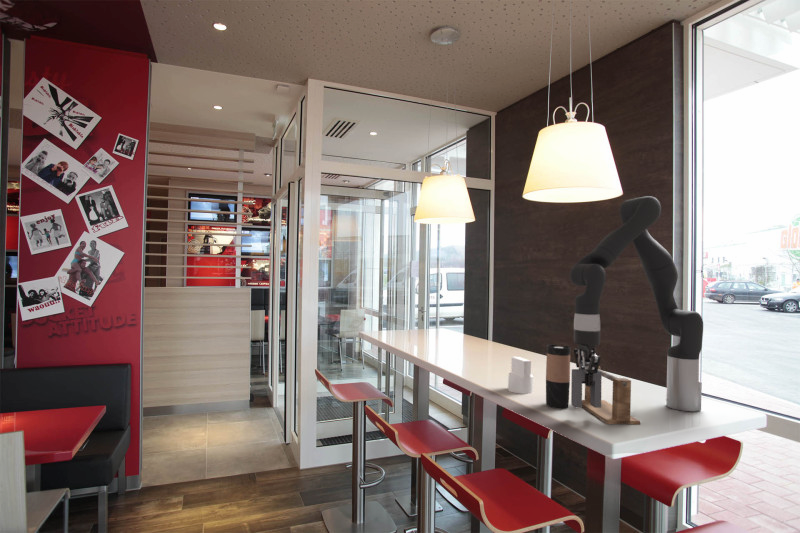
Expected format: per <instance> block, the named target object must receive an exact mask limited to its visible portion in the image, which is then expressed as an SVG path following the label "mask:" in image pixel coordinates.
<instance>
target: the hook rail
mask: <svg viewBox="0 0 800 533" xmlns="http://www.w3.org/2000/svg"><path fill="white" fill-rule="evenodd" d="M588 367H589V366H588ZM594 368H595V367H594ZM601 368H602V367H601V366H599V367H598V370H599V371H602V377H603V378H605V379H607V380H609V381H611V382H612V398H611V399H612V400H611V401H612V403H609V402H608V401H607V400H605V399H604V400H603V399H601V408H595V407H593V406H591V405H590V386H585V385H584V399H582V408H584V409H585V410H586V411H588V412H589V413H591V414H592V415H594V416H595V417H597V419H599V420H601V421H603V423H606V424H607V425H640V424H641V421H640V420H639V419H638V418H636V417H634V416H632V415H631V408H632V407H631V405H632V404H631V403H632V402H631V401H632V398H631V396H632V394H631V393H632V380H631V379H628V378H625V377H623V378H622V377H617V376H614V375H612V374H610V373H608V372H606V371H603V370H602V369H601Z"/></svg>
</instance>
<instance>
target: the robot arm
mask: <svg viewBox="0 0 800 533" xmlns="http://www.w3.org/2000/svg"><path fill="white" fill-rule="evenodd" d="M618 212H619V216H620V221H621V222H622V225H621V226H619V227H618V228H616V229H615V230H613V231H612V232H610V233H609V234H607V235H606V236H605V237H604V238H603V239H601V241H599V242H598V243H597V245H596V246H595V247H594V249H592V251H591V252H590V253H588V254H586V255H585V256H584V257H582V258H581V259H579V260H578V261H577V262H576V263H575V264H574V265H573V266H572V267H571V269H570V272H569V279H570V282H571V283H572V284H573V285H574V286H578V287H585V288H584V289H585V290H584V292H583V293H581V294H577V295H576V297H575V299H574V318H573V343H574V344H575V345H578V346H577V348H574V349H573V354H574V360H575V361H574V362H575V366H576V369H585V381H582V385H583V384H584V387H585V386H593V374H594V373H597V372H598V367H600V364H601V355H597V354H596V353H597V350H596V346H600V344H601V318H600V306H601V305H600V301H601V297H602V295H603V291H604V287H605V284H606V279H607V275H606V271H605V269H607V268H609V267H611V266H612V265H613V264H614V262H615V261H616V260H617V259H618V258H619V257H620V255H621V254H622V253H623V251H624V250H625V249H626V248H627V247H628V246H629V245H630V244H631V243H632V244H633V246H634V248H635V251H636V254H637V255H638V259H639V261H640V262H641V266H642V268H643V272H644V273H645V277H646V279H647V281H648V283H649V286H650V289H651V291H652V294H653V298H654V300H655V303H656V307H657V310H658V314H659V318H660V322H661V325H662V328H663V329H664V331H665V332H666V333H667V334H668V335H670V336H673V337H680V338H679V343H677V344H676V345H673V346H669V347H668V348H667V354H666V355H667V360H666V363H667V364H666V368H667V369H666V399H665V400H666V404H665V405H666V407H668V408H670V409H673V410H677V411H684V412H697V411H698V412H699V411H702V382H701V381H700V355H701V351H702V348H703V336H704V321H703V317H702V316H701V314H700V313H699V312H698V311H694V310H685V309H679V307H678V305H677V302H676V299H675V295H674V292H675V289H676V286H677V282H678V280H679V279H678V277H679V274H678V273H679V272H678V270H677V267H676V265H675V261H674V259H673V257H672V255H671V254H670V252H668V250H667V249H666V248H665V247H663V245H661V243H659V242H658V241H657V240H656V239H655V238H653V236H651V234H650V233H649V231H648V228H649V227H651V226H652V225H654V223H656V222H657V221H658V219H660V218H659V217H660V216H661V213H662V205H661V202H660V201H659V200H658V199H657V198H656V197H654V196H652V195H651V196H650V195H649V196H647V195H646V196H641V197H640V196H639V197H635V198H631V199H627V200H624V201H622V202H621V204H620V206H619V211H618ZM588 366H589V367H588ZM594 367H595V368H594Z"/></svg>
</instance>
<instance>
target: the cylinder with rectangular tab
mask: <svg viewBox="0 0 800 533" xmlns="http://www.w3.org/2000/svg"><path fill="white" fill-rule="evenodd" d="M510 364H511V366H510V368H511V370H510V372H509V373H508V379H507V380H508V381H507V383H508V384H507V387H508V388H507V389H508V390H507V391H509V392H510V393H511V392H512V393H514V394H515V393H516V394H523V395H526V394H527V395H528V394H533V392H534V390H533V389H534V375H533V374H532V361H531V360H529V359H526V358H524V357H520V356H511V362H510Z"/></svg>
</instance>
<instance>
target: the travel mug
mask: <svg viewBox="0 0 800 533" xmlns="http://www.w3.org/2000/svg"><path fill="white" fill-rule="evenodd" d="M570 384H571V347H570V346H569V345H564V346H558V345H557V344H547V345H546V366H545V403H546V406H547V407H549V408H552V409H557V410H559V409H560V410H562V409H563V410H564V409H568V408H569V404H570V386H571V385H570Z"/></svg>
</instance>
